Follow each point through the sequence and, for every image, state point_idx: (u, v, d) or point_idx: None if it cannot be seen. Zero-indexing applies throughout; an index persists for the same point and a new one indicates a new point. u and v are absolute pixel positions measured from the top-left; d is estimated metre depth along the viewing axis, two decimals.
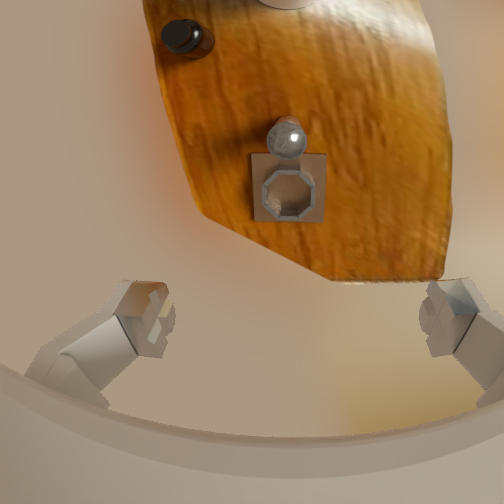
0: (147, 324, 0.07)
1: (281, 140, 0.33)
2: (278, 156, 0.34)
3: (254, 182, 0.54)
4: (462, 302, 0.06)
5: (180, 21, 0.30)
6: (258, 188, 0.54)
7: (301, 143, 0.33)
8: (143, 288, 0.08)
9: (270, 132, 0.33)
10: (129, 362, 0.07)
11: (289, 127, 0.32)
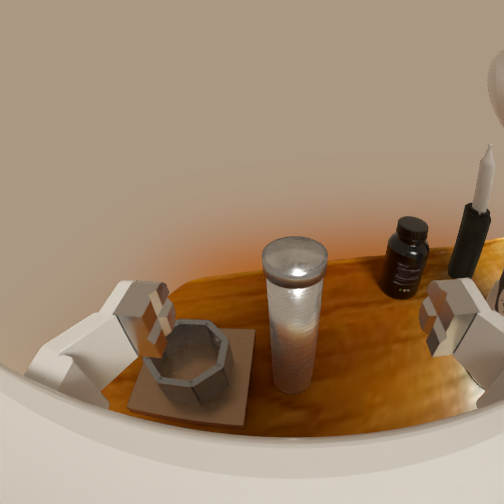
0: (147, 324, 0.07)
1: (296, 248, 0.22)
2: (269, 246, 0.23)
3: None
4: (463, 302, 0.06)
5: (426, 227, 0.35)
6: None
7: (292, 267, 0.20)
8: (143, 288, 0.08)
9: (308, 239, 0.23)
10: (129, 362, 0.07)
11: (319, 255, 0.21)
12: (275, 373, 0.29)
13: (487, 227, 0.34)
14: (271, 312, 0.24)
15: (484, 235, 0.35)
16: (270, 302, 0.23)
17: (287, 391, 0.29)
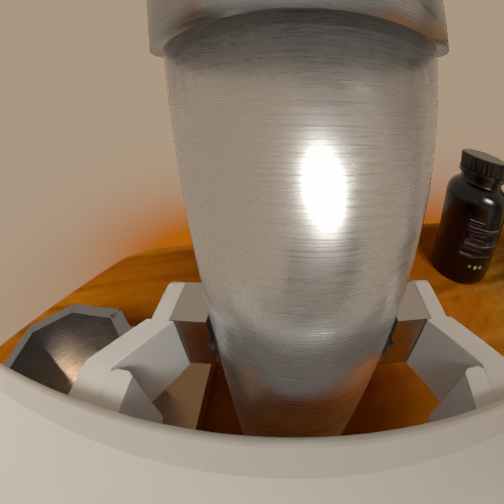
0: (209, 329, 0.07)
1: None
2: None
3: None
4: (412, 306, 0.06)
5: (503, 162, 0.16)
6: None
7: None
8: (199, 290, 0.07)
9: None
10: (181, 370, 0.07)
11: None
12: None
13: None
14: (199, 263, 0.05)
15: None
16: (186, 207, 0.05)
17: None
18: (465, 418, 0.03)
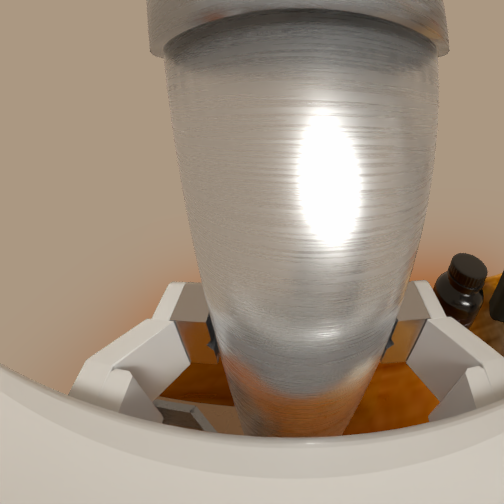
0: (209, 329, 0.07)
1: None
2: None
3: (202, 406, 0.26)
4: (411, 306, 0.06)
5: (485, 269, 0.22)
6: None
7: None
8: (199, 290, 0.07)
9: None
10: (181, 370, 0.07)
11: None
12: None
13: None
14: (199, 263, 0.05)
15: None
16: (187, 208, 0.05)
17: None
18: (465, 418, 0.03)
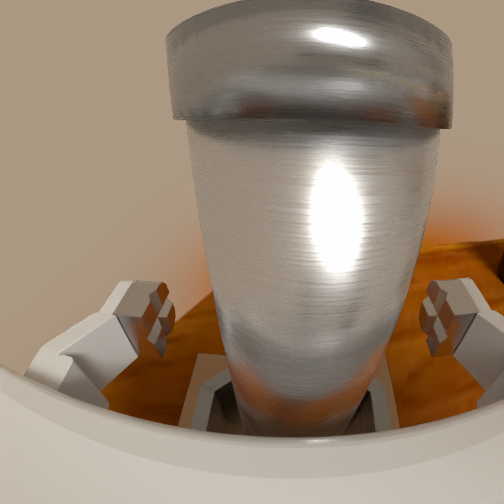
0: (147, 324, 0.07)
1: None
2: None
3: None
4: (462, 302, 0.06)
5: None
6: None
7: None
8: (143, 288, 0.08)
9: None
10: (129, 362, 0.07)
11: None
12: None
13: None
14: (218, 307, 0.06)
15: None
16: (208, 263, 0.05)
17: None
18: (465, 418, 0.03)
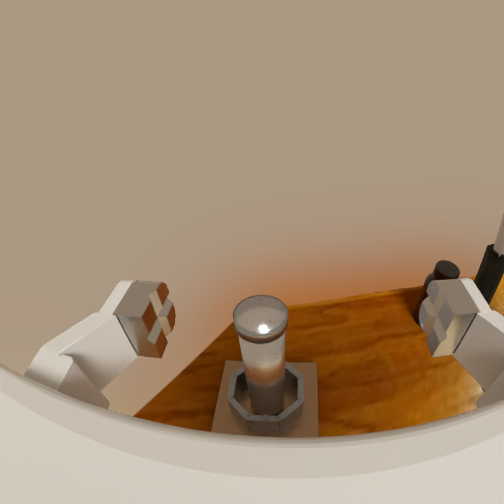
0: (147, 324, 0.07)
1: (262, 308, 0.26)
2: (240, 304, 0.27)
3: None
4: (463, 302, 0.06)
5: (458, 271, 0.38)
6: None
7: (256, 328, 0.24)
8: (143, 288, 0.08)
9: (274, 298, 0.27)
10: (129, 362, 0.07)
11: (280, 316, 0.25)
12: (250, 398, 0.33)
13: None
14: (242, 355, 0.27)
15: (502, 274, 0.38)
16: (241, 348, 0.27)
17: (261, 413, 0.33)
18: (465, 418, 0.03)
